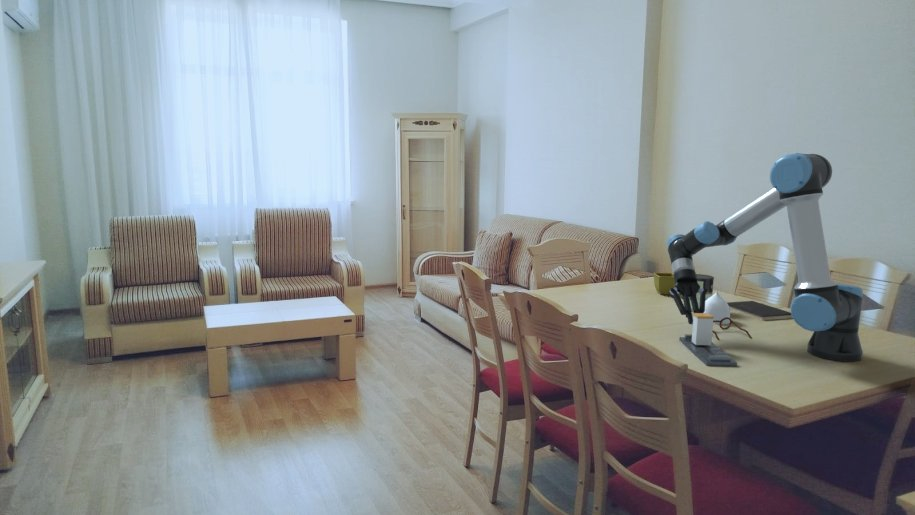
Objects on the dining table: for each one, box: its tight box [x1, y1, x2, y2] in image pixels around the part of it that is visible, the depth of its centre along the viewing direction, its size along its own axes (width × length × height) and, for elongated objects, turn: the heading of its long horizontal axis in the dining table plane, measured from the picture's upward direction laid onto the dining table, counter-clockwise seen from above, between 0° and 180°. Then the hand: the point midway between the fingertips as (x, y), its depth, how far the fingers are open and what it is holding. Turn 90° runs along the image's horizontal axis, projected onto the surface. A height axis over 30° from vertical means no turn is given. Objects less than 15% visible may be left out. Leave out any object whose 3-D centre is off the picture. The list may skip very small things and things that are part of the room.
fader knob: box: [691, 312, 714, 345], centre depth 203 cm, size 4×5×10 cm
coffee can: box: [689, 273, 715, 312], centre depth 255 cm, size 10×10×14 cm
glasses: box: [712, 317, 753, 341], centre depth 220 cm, size 13×13×5 cm
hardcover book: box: [726, 300, 793, 321], centre depth 253 cm, size 16×23×2 cm
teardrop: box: [704, 290, 731, 325], centre depth 238 cm, size 11×11×12 cm
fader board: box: [678, 333, 738, 367], centre depth 199 cm, size 26×9×2 cm, turn 178°
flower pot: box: [653, 272, 675, 296], centre depth 285 cm, size 9×9×9 cm
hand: (697, 332), depth 207 cm, fingers closed
